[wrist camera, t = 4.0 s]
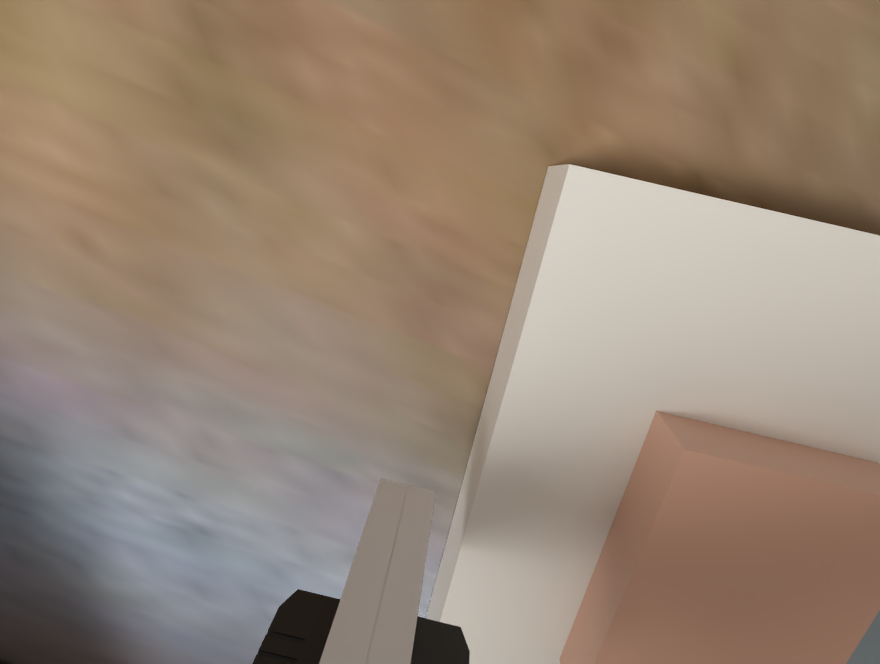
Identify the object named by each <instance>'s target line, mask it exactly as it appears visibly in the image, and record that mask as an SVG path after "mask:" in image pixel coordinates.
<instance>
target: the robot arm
mask: <svg viewBox="0 0 880 664" xmlns="http://www.w3.org/2000/svg"><path fill="white" fill-rule="evenodd" d="M435 495H436V492H435V491H431V490H427V489H423V488H419V487H414V486H410V485H406V484H402V483H398V482H393V481H389V480H385V479H381V480H380V483H379V486H378V489H377V492H376V495H375V498H374V501H373V504H372V507H371V510H370V513H369V516H368V519H367V522H366V525H365V528H364V531H363V534H362V537H361V540H360V543H359V546H358V549H357V552H356V555H355V558H354V561H353V564H352V567H351V570H350V573H349V576H348V579H347V582H346V585H345V588H344V591H343V594H342V597H341V600H340V599H336V598H332V597H328V596H323V595H319V594H315V593H311V592H307V591H303V590H299V589H298V590H297V591H296V592H295V593H294V594H292V595H291V596H290V597H289V598H288V599H287V600H286V601H285V602H284V603H283V604H282V605H281V606H280V607H279V608H278V610H277V613H276V615H275V617H274V619H273V621H272V623H271V625H270V627H269V630H268V633H267V635H266V636H265V638H264V640H263V642H262V645H261V647H260V649H259V652H258V654H257V655H256V657H255V659H254V662H253V664H469V657H470V651H469V648H468V645H467V643H466V640H465V637H464V635H463V632H462V629H461V627H459V626H455V625H450V624H446V623H442V622H438V621H434V620H430V619H426V618H421V617H417V616H418V609H419V603H420V596H421V589H422V582H423V576H424V569H425V562H426V555H427V549H428V542H429V535H430V528H431V522H432V515H433V508H434V501H435Z"/></svg>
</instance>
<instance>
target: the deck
mask: <svg viewBox="0 0 880 664" xmlns="http://www.w3.org/2000/svg"><path fill="white" fill-rule="evenodd" d="M656 411H660V412H664V413H668V414H673V415H677V416H681V417H685V418H690V419H694V420H698V421H702V422H707V423H711V424H715V425H720V426H724V427H728V428H732V429H737V430H741V431H745V432H749V433H754V434H758V435H762V436H766V437H771V438H775V439H779V440H784V441H788V442H792V443H796V444H801V445H805V446H809V447H813V448H818V449H822V450H826V451H830V452H835V453H839V454H843V455H848V456H852V457H856V458H860V459H865V460H869V461H873V462H877V463H879V464H880V235H875V234H871V233H867V232H862V231H858V230H854V229H849V228H845V227H841V226H836V225H832V224H828V223H823V222H819V221H815V220H810V219H806V218H801V217H797V216H793V215H788V214H784V213H780V212H775V211H771V210H767V209H762V208H758V207H754V206H749V205H745V204H741V203H736V202H732V201H728V200H723V199H719V198H715V197H710V196H706V195H702V194H697V193H693V192H688V191H684V190H680V189H675V188H671V187H667V186H662V185H658V184H654V183H649V182H645V181H641V180H636V179H632V178H628V177H623V176H619V175H615V174H610V173H606V172H602V171H597V170H593V169H589V168H584V167H580V166H575V165H571V164H566V165H556V166H548V170H547V173H546V177H545V181H544V184H543V188H542V192H541V195H540V199H539V203H538V206H537V210H536V214H535V217H534V221H533V225H532V229H531V232H530V236H529V240H528V243H527V247H526V251H525V254H524V258H523V262H522V265H521V269H520V273H519V276H518V280H517V284H516V287H515V291H514V295H513V299H512V302H511V306H510V310H509V313H508V317H507V321H506V324H505V328H504V332H503V335H502V339H501V343H500V346H499V350H498V354H497V357H496V361H495V365H494V369H493V372H492V376H491V380H490V383H489V387H488V391H487V394H486V398H485V402H484V405H483V409H482V413H481V416H480V420H479V424H478V427H477V431H476V435H475V439H474V442H473V446H472V450H471V453H470V457H469V461H468V464H467V468H466V472H465V475H464V479H463V483H462V486H461V490H460V494H459V497H458V501H457V505H456V509H455V512H454V516H453V520H452V523H451V527H450V531H449V534H448V538H447V542H446V545H445V549H444V553H443V556H442V560H441V564H440V567H439V571H438V575H437V579H436V582H435V586H434V590H433V593H432V597H431V601H430V604H429V608H428V612H427V615H426V619H430V620H434V621H438V622H442V623H446V624H450V625H455V626H459V627H461V629H462V632H463V635H464V637H465V640H466V643H467V645H468V648H469V651H470V657H469V664H560V656H561V654H562V651H563V648H564V646H565V643H566V641H567V638H568V636H569V633H570V631H571V628H572V625H573V623H574V620H575V618H576V615H577V613H578V610H579V607H580V605H581V602H582V600H583V597H584V595H585V592H586V589H587V587H588V584H589V582H590V579H591V577H592V574H593V571H594V569H595V566H596V564H597V561H598V559H599V556H600V553H601V551H602V548H603V546H604V543H605V541H606V538H607V535H608V533H609V530H610V528H611V525H612V523H613V520H614V518H615V515H616V512H617V510H618V507H619V505H620V502H621V500H622V497H623V494H624V492H625V489H626V487H627V484H628V482H629V479H630V476H631V474H632V471H633V469H634V466H635V464H636V461H637V458H638V456H639V453H640V451H641V448H642V446H643V443H644V440H645V438H646V435H647V433H648V430H649V428H650V425H651V423H652V420H653V417H654V415H655V412H656Z"/></svg>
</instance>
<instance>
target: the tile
mask: <svg viewBox="0 0 880 664" xmlns="http://www.w3.org/2000/svg"><path fill="white" fill-rule="evenodd" d="M879 610H880V464H879V463H877V462H873V461H869V460H865V459H860V458H856V457H852V456H848V455H843V454H839V453H835V452H830V451H826V450H822V449H818V448H813V447H809V446H805V445H801V444H796V443H792V442H788V441H784V440H779V439H775V438H771V437H766V436H762V435H758V434H754V433H749V432H745V431H741V430H737V429H732V428H728V427H724V426H720V425H715V424H711V423H707V422H702V421H698V420H694V419H690V418H685V417H681V416H677V415H673V414H668V413H664V412H660V411H656V412H655V415H654V417H653V420H652V423H651V425H650V428H649V430H648V433H647V435H646V438H645V440H644V443H643V446H642V448H641V451H640V453H639V456H638V458H637V461H636V464H635V466H634V469H633V471H632V474H631V476H630V479H629V482H628V484H627V487H626V489H625V492H624V494H623V497H622V500H621V502H620V505H619V507H618V510H617V512H616V515H615V518H614V520H613V523H612V525H611V528H610V530H609V533H608V535H607V538H606V541H605V543H604V546H603V548H602V551H601V553H600V556H599V559H598V561H597V564H596V566H595V569H594V571H593V574H592V577H591V579H590V582H589V584H588V587H587V589H586V592H585V595H584V597H583V600H582V602H581V605H580V607H579V610H578V613H577V615H576V618H575V620H574V623H573V625H572V628H571V631H570V633H569V636H568V638H567V641H566V643H565V646H564V648H563V651H562V654H561V656H560V664H846V663H847V662H848V660H849V658H850V657H851V655H852V654H853V652H854V650H855V649H856V647H857V646H858V644H859V642H860V641H861V639H862V638H863V636H864V634H865V633H866V631H867V630H868V628H869V626H870V625H871V623H872V622H873V620H874V618H875V617H876V615H877V614H878V612H879Z"/></svg>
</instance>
